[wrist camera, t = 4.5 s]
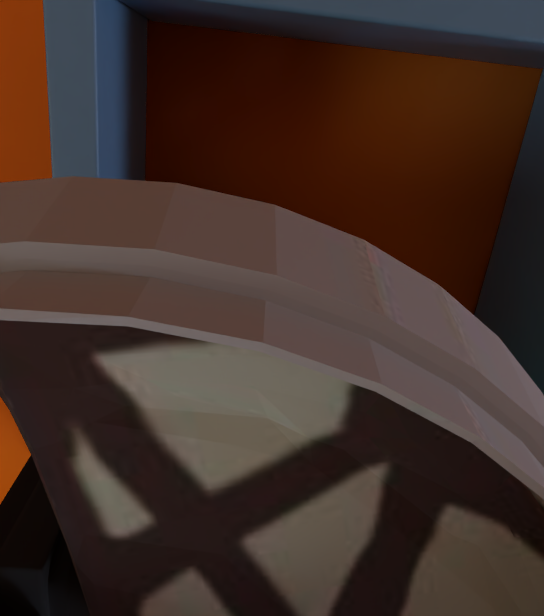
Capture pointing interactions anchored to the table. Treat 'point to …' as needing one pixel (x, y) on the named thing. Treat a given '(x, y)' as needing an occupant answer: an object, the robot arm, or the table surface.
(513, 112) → the table surface
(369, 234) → the table surface
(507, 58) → the rectangular frame
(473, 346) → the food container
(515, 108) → the table surface
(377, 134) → the table surface
